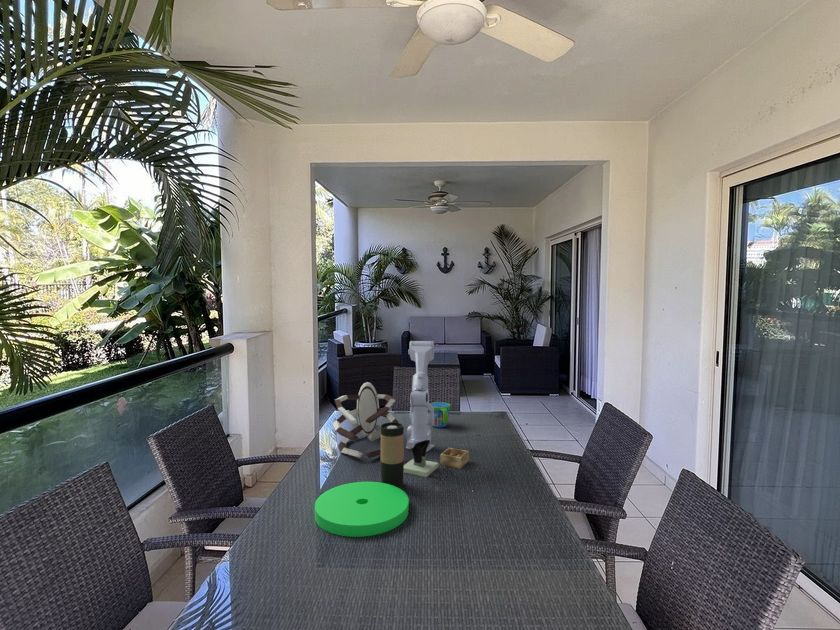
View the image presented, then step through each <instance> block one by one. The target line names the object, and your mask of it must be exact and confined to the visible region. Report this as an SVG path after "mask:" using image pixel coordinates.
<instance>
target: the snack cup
mask: <svg viewBox="0 0 840 630" xmlns="http://www.w3.org/2000/svg"><path fill="white" fill-rule="evenodd" d="M429 403H430V402H429ZM430 404H431V405H432V406H433V408H434V425H433V426H432V427H434V428H446V427H447V426H448V424H449V416H450V409H451V408H452V404H450V403H448V402H444V401H442V402H441V401H435V402H431V403H430Z"/></svg>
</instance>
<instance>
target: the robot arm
mask: <svg viewBox="0 0 840 630" xmlns="http://www.w3.org/2000/svg"><path fill="white" fill-rule="evenodd" d="M408 348H409V349H408V351H409V354H408V355H409V357H410V360H411V361H413V362H415V374H413V375H412V382H411V383H412V385H411V386H412V387H411V392H410V398H409V403H410V408H409V426H408V427H407V428H406V429H407V430H406V446H405V449H407V450H410V451H411V452H412V455H413V458H414V460H415V462H416V463H421V461H422V456H423V457H426V453H427V452H429V451H430V450H431V449H433V448H434V447H436V446H435V444H432V441H431V440H432V439H431V438H432V433H431V431H432V427H434V426H433V425H434V408H433V406H432V405H431V404H430V392H429V376H428V367H429V366H428V365H429V363H430V362H432V361H433V360H434V359H435V342H434V341H433V340H410V341H409V347H408Z"/></svg>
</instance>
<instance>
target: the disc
mask: <svg viewBox="0 0 840 630" xmlns="http://www.w3.org/2000/svg"><path fill="white" fill-rule="evenodd" d="M409 502H410V499H409V496H408V495H407V493H406V491H404V490H402V488H400V489H399V488H397V487H395V486H393V485H390V484H385V483H381V482H377V481H357V482H356V481H355V482H349V483H344V484H341V485H338V486H335V487H332V488H329V489H328V490H326V491H325V492H323V493H322V494H320V495H319V496H318V498H317V499H316V500H315V502H314V519H315V523H316V524H317V525H318V527H320V528H321V529H322V530H323V531H326V532H329V534H330V533H331V534H333V535H337V536H343V537H354V538H355V537H356V538H358V537H359V538H360V537H371V536H375V535H381V534H384V533H388V532H389V531H392V530H394V529H396V528H397V527H398V526H400V525H401V524H403V523H404V521H406V519H407V517H408V515H409V512H410V511H409V510H410V509H409V508H410V506H409V504H410V503H409ZM408 511H409V512H408Z"/></svg>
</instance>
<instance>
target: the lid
mask: <svg viewBox="0 0 840 630" xmlns="http://www.w3.org/2000/svg"><path fill="white" fill-rule="evenodd" d="M438 468H439V462H436V461H430V460H427V457H426V456H425V457H423V456H422V461H421V463H416V462H415V460H414V457H413V458H412V459H410V460H409V461H408V462H407V463H404V473H405V474H409V475H413V476H419V477H423V478H428V476H430V475H431V474H432V473H434V471H436V470H437V469H438ZM404 473H403V474H404Z"/></svg>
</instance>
